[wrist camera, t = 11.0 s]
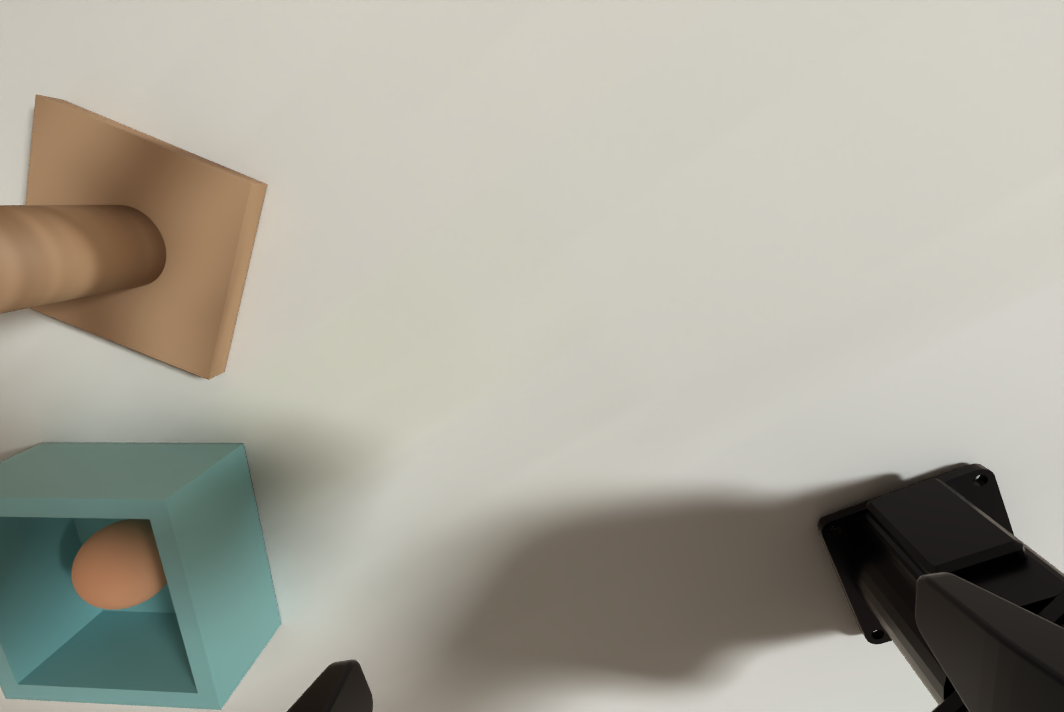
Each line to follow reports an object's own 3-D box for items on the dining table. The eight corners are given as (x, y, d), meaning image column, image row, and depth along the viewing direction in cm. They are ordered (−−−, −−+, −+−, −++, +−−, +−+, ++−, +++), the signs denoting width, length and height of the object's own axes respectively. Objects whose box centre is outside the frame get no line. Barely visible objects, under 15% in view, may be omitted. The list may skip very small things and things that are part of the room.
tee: (267, 184, 19) (104, 175, 13) (224, 371, 22) (68, 446, 15) (62, 99, 19) (-213, 45, 13) (41, 298, 22) (-200, 341, 15)
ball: (212, 538, 24) (152, 581, 20) (169, 594, 24) (102, 646, 21) (148, 489, 24) (77, 524, 20) (106, 546, 24) (29, 590, 21)
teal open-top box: (243, 443, 23) (165, 499, 18) (281, 623, 25) (220, 709, 21) (42, 442, 24) (-77, 496, 19) (99, 617, 26) (5, 698, 22)
